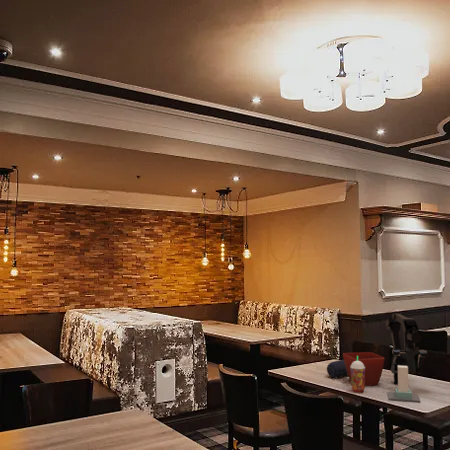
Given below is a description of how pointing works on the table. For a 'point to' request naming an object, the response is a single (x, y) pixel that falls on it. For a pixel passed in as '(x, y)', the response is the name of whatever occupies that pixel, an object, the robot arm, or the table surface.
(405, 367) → the cream pillar
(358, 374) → the smoothie
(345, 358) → the plant pot
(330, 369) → the portable speaker
